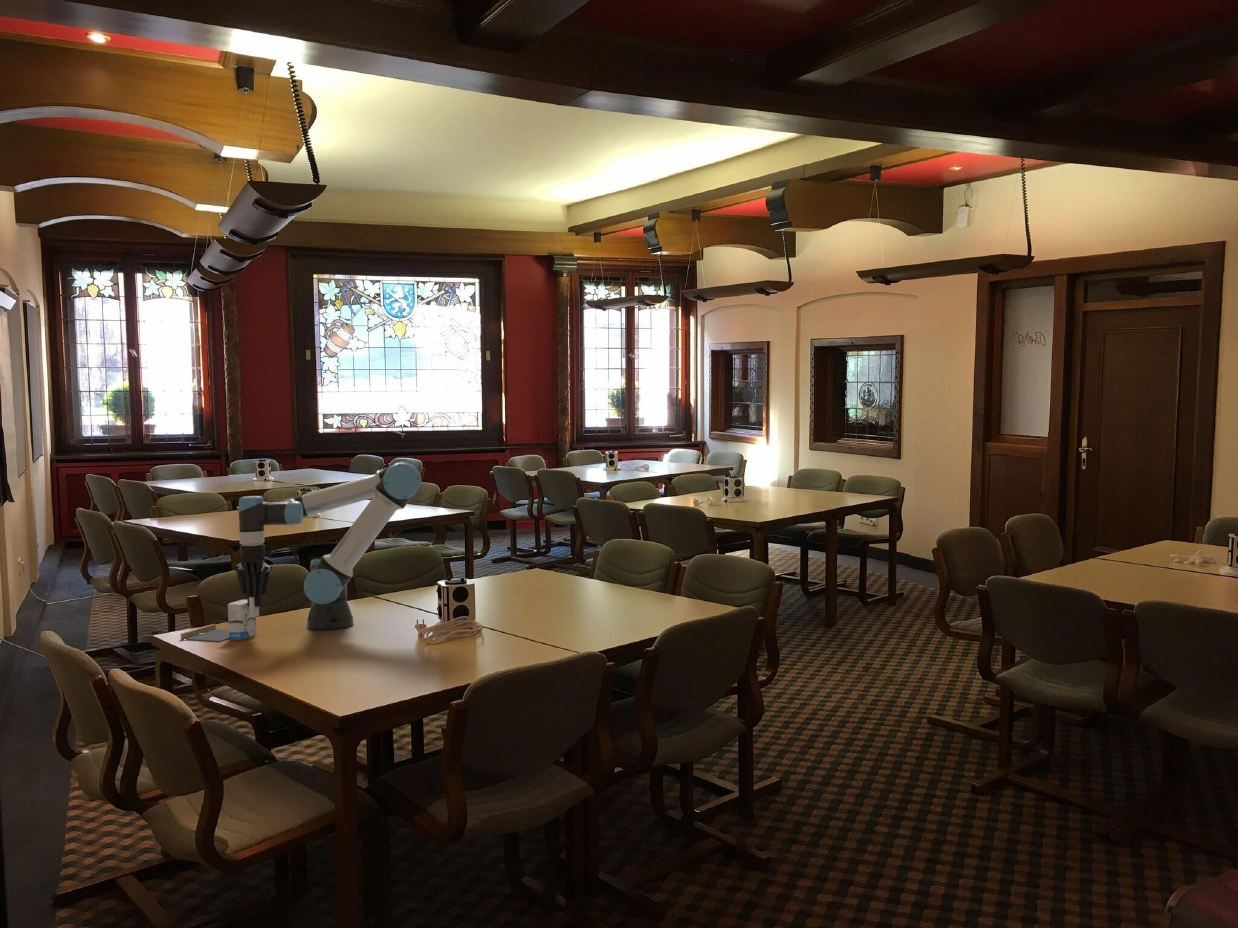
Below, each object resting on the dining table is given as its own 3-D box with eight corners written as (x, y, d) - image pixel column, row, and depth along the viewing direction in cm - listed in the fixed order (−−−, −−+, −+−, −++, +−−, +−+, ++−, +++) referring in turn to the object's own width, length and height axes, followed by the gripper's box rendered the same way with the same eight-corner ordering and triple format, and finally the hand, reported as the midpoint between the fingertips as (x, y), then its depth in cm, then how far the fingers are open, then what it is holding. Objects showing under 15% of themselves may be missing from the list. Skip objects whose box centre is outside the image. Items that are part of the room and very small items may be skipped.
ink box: (242, 640, 304) (240, 604, 303) (228, 640, 305) (226, 603, 304) (257, 634, 312) (256, 599, 312) (244, 634, 313) (242, 598, 313)
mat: (250, 631, 317) (250, 625, 317) (219, 642, 302) (219, 635, 302) (213, 629, 321) (213, 623, 321) (180, 639, 307) (180, 633, 307)
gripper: (276, 543, 308) (278, 615, 309) (242, 542, 311) (245, 613, 312) (261, 546, 300) (264, 619, 301) (227, 545, 304) (229, 617, 305)
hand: (254, 616), depth 307 cm, fingers closed
